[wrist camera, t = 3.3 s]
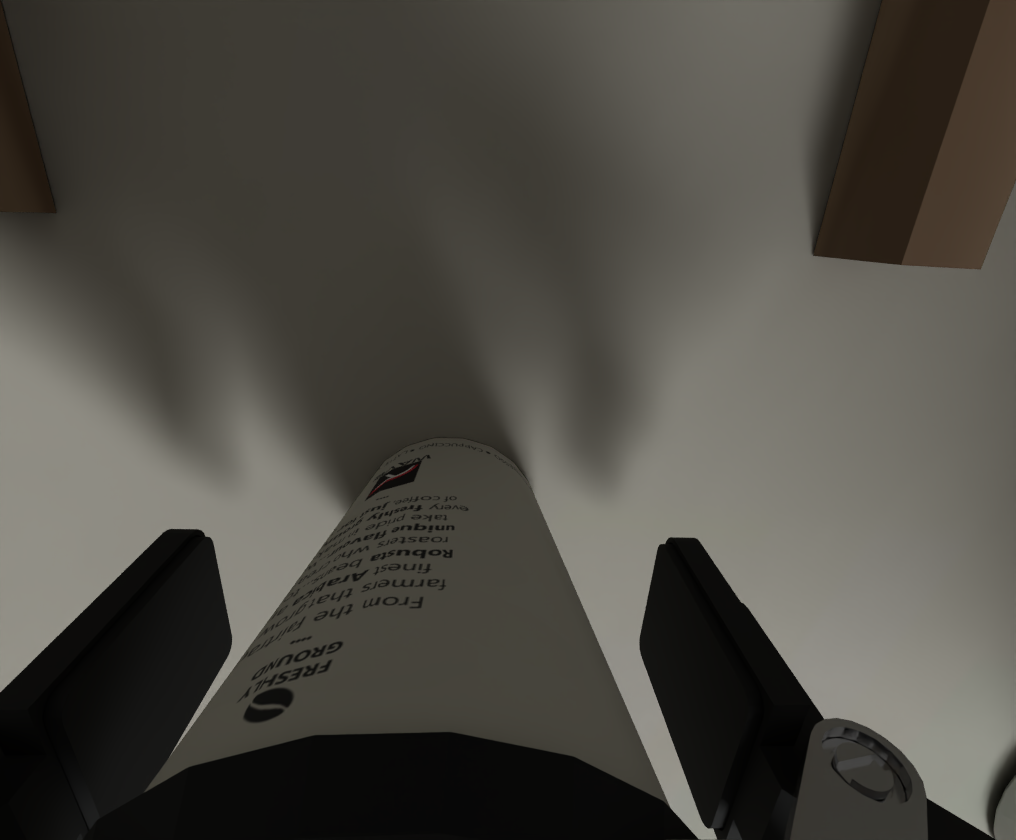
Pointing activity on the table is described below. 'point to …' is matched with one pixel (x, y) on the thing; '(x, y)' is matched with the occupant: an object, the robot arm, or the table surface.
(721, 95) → the table surface
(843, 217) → the bay
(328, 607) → the coffee cup
